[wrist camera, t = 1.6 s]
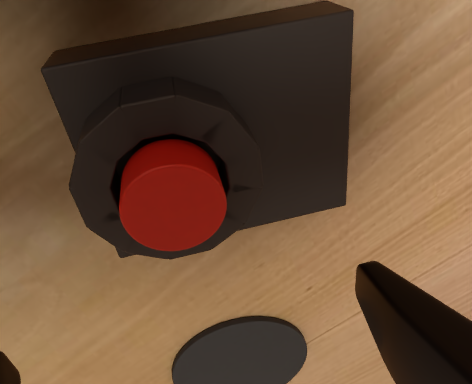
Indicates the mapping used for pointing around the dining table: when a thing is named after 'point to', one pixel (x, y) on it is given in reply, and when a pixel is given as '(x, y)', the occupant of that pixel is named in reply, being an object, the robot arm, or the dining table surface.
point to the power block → (214, 114)
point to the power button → (171, 196)
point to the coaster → (242, 353)
